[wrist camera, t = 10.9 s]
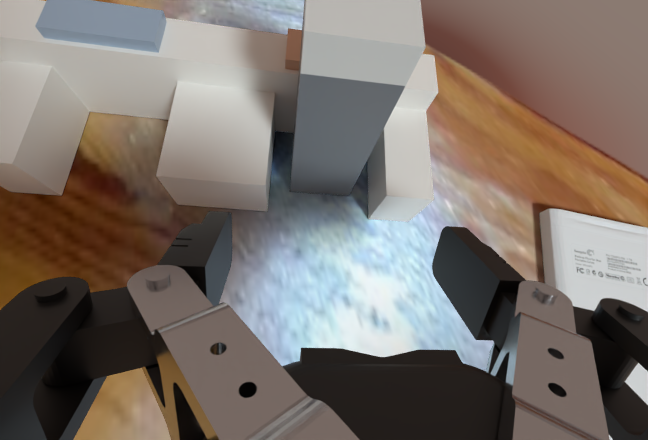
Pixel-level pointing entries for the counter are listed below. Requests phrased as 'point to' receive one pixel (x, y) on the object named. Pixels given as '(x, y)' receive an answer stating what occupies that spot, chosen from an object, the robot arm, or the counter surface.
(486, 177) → the counter surface
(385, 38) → the grey tall block
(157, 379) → the robot arm
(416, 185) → the socket strip
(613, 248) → the external hard drive
